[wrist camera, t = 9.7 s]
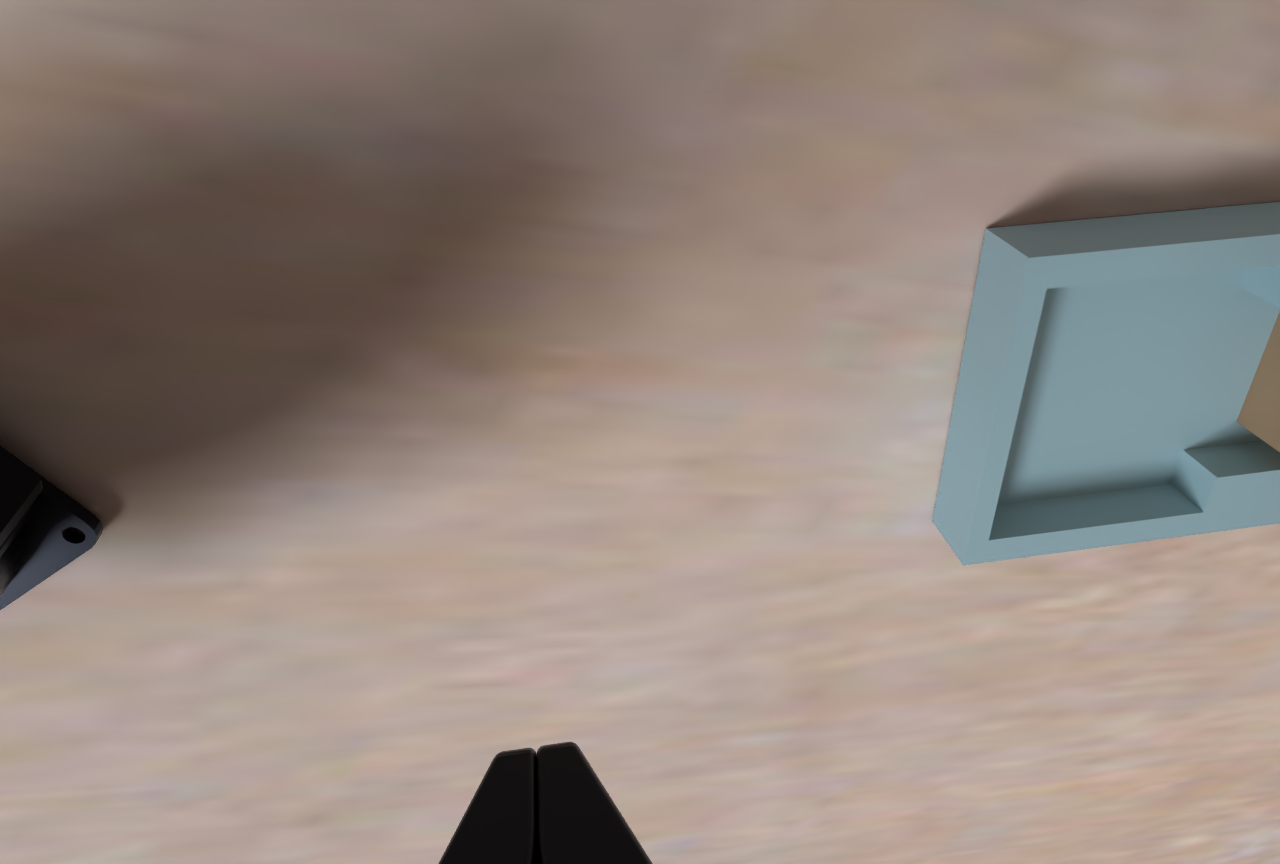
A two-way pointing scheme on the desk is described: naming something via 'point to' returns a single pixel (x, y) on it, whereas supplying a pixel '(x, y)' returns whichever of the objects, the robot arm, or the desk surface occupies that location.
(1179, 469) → the slot base
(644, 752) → the desk surface
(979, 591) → the desk surface
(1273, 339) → the brown wooden block
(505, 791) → the robot arm
